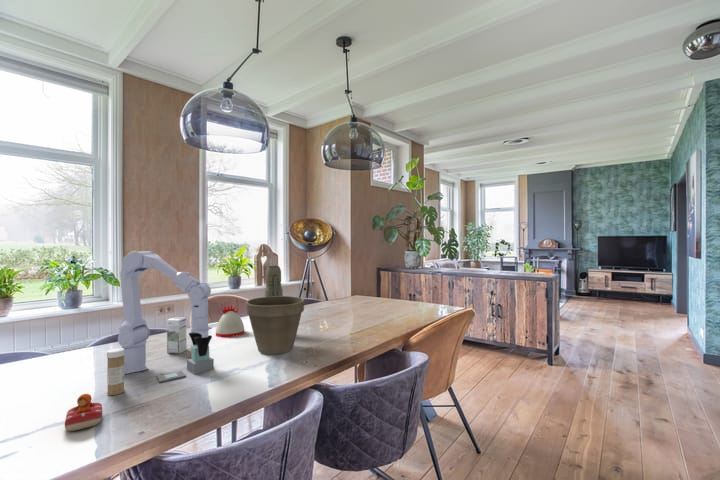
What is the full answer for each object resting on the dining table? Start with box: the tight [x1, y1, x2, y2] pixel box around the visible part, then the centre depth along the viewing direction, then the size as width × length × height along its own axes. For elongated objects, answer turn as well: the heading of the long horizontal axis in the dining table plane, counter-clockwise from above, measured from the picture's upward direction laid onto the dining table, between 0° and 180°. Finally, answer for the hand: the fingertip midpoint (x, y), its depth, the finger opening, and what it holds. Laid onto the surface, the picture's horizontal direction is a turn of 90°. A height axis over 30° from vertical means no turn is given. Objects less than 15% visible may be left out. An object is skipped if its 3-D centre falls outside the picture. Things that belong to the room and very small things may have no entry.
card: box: [156, 370, 187, 384], centre depth 122 cm, size 8×6×1 cm
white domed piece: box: [215, 304, 245, 338], centre depth 182 cm, size 14×14×15 cm
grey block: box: [186, 356, 215, 375], centre depth 130 cm, size 7×7×4 cm
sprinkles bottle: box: [106, 347, 125, 396], centre depth 110 cm, size 5×5×14 cm
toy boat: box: [64, 393, 103, 432], centre depth 91 cm, size 8×12×8 cm, turn 36°
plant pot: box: [245, 295, 305, 356], centre depth 153 cm, size 25×25×22 cm
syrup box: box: [166, 316, 188, 354], centre depth 153 cm, size 6×6×14 cm
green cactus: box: [264, 265, 284, 297], centre depth 178 cm, size 9×12×35 cm
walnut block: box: [186, 347, 191, 360], centre depth 139 cm, size 5×5×5 cm
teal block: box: [190, 344, 210, 362], centre depth 130 cm, size 5×5×5 cm
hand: (200, 353), depth 130 cm, fingers open, 6 cm apart
